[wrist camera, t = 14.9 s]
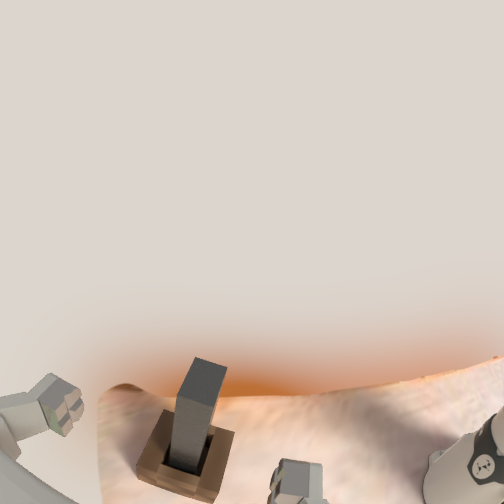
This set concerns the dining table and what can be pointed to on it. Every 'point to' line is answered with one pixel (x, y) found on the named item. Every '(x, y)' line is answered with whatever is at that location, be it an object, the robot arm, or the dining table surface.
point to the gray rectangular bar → (194, 414)
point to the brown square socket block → (193, 486)
